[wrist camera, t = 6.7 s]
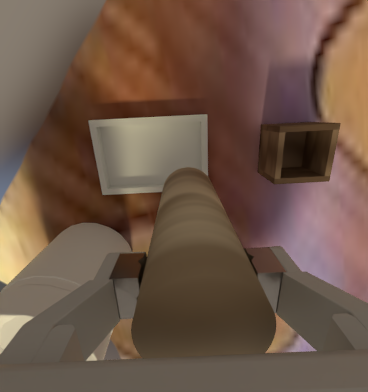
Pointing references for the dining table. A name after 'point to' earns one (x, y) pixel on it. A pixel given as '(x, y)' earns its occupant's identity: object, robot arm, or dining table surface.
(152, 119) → the tray
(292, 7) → the dining table surface
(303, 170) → the pen pot
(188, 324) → the dowel
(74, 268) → the canister
